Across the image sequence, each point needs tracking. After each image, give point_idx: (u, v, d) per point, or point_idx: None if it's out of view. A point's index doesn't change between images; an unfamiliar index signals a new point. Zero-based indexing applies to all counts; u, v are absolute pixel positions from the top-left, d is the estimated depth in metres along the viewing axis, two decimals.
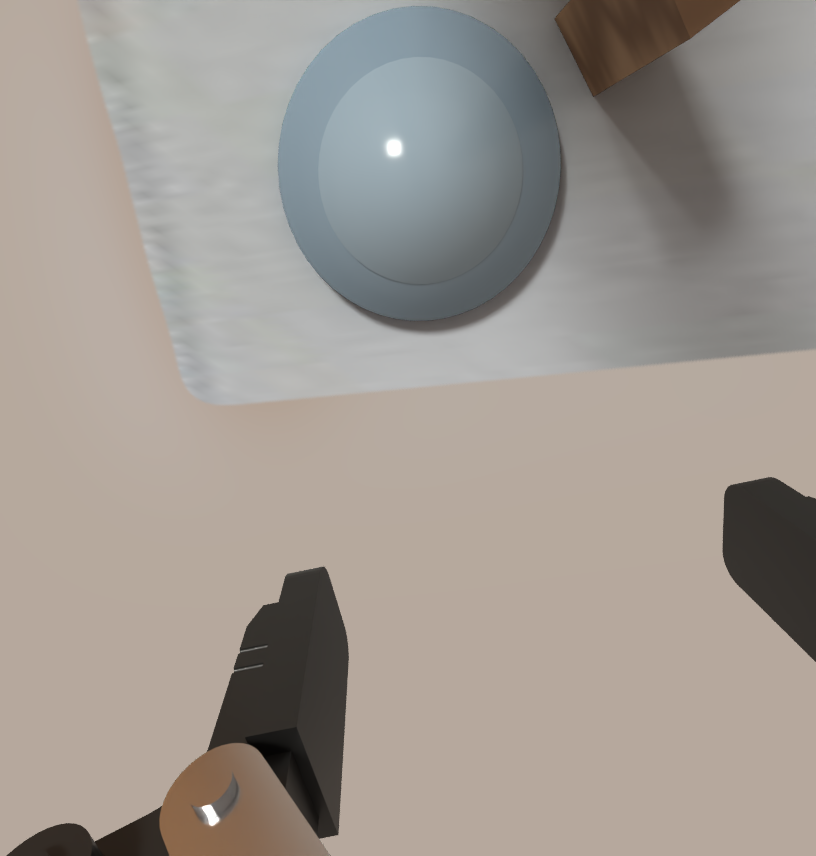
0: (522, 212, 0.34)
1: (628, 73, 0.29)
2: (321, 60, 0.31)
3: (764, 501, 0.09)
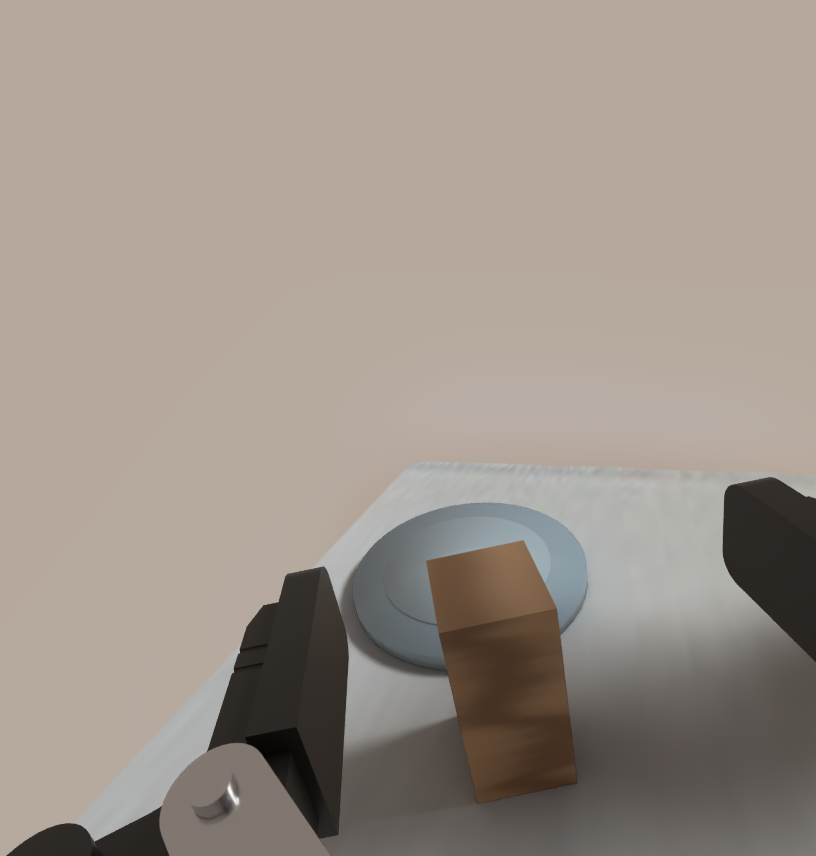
0: (398, 617, 0.37)
1: None
2: (567, 534, 0.42)
3: (764, 501, 0.09)
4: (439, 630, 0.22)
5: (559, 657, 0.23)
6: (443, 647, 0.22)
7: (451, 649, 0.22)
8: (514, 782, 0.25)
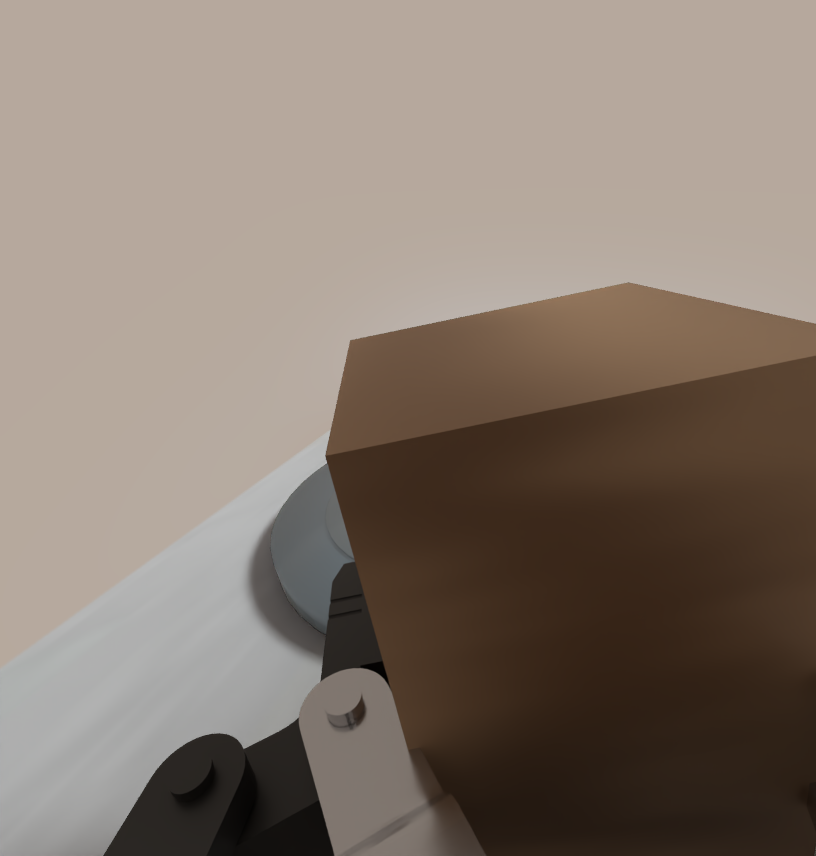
0: (342, 565, 0.20)
1: None
2: None
3: None
4: (333, 448, 0.05)
5: None
6: (354, 531, 0.05)
7: (393, 543, 0.05)
8: None
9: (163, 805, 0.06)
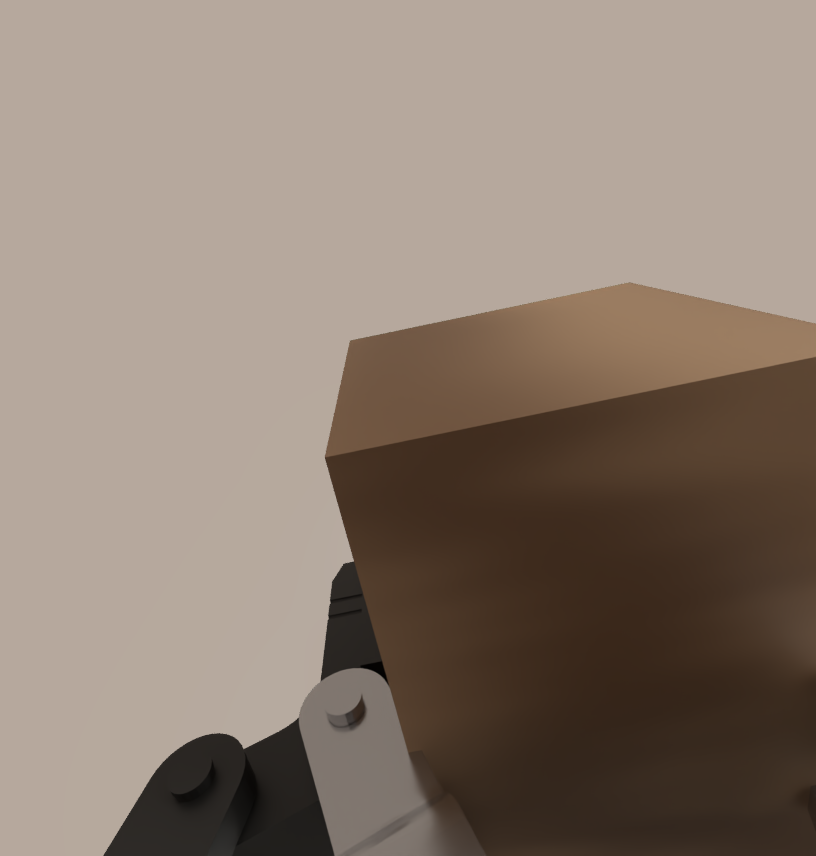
0: None
1: None
2: None
3: None
4: (333, 449, 0.05)
5: None
6: (354, 532, 0.05)
7: (393, 545, 0.05)
8: None
9: (163, 805, 0.06)
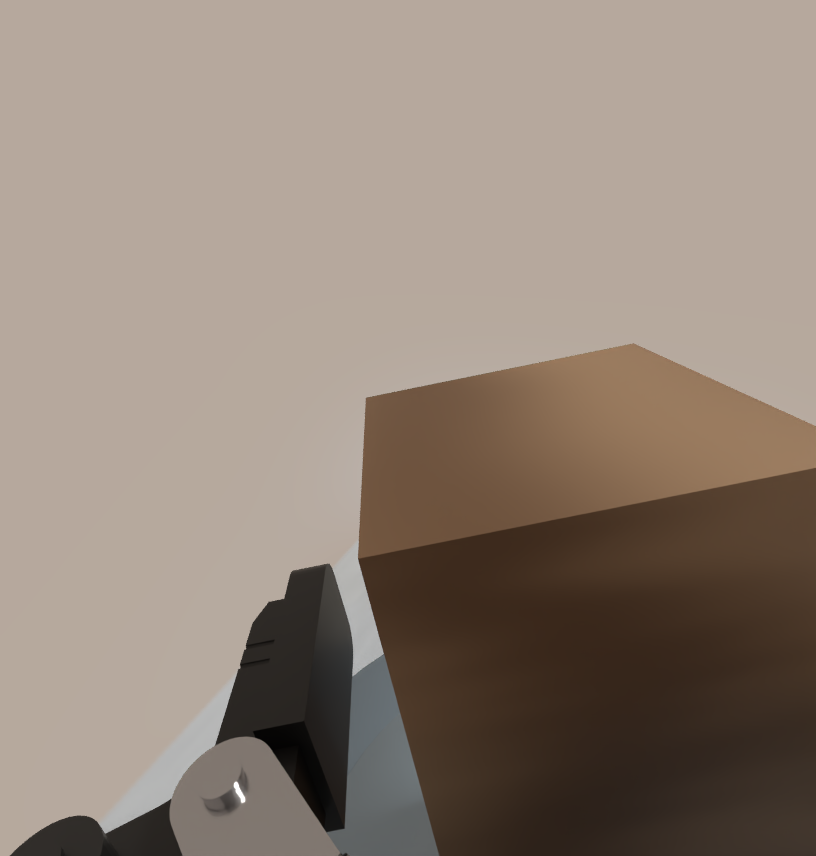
0: None
1: None
2: None
3: None
4: (364, 549, 0.05)
5: None
6: (382, 622, 0.05)
7: (419, 633, 0.05)
8: None
9: None
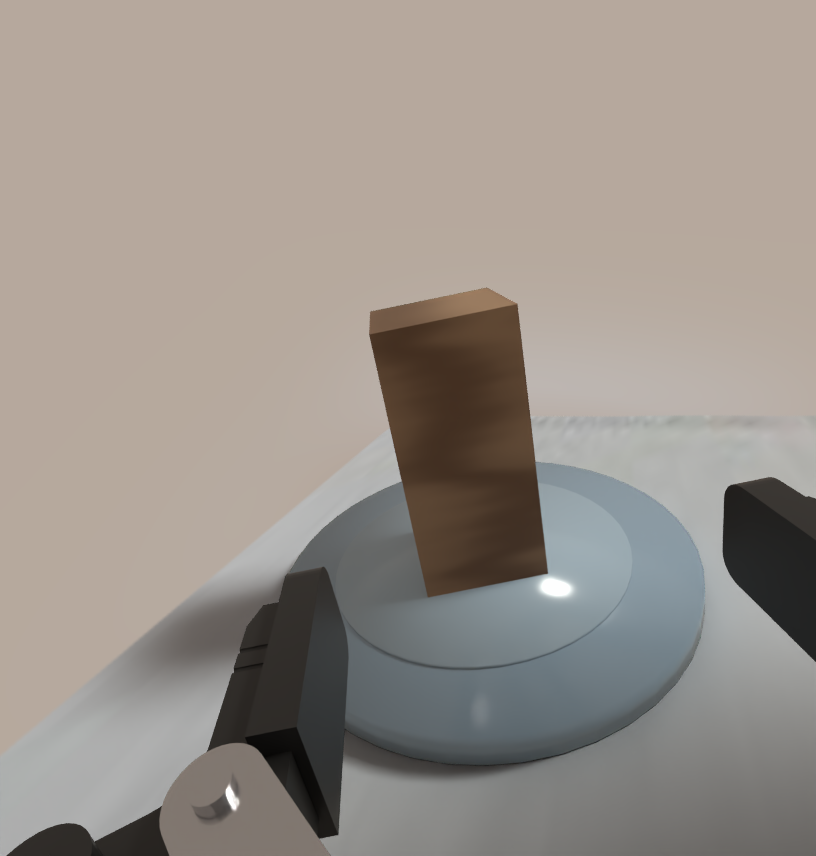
0: (353, 646, 0.20)
1: None
2: (650, 503, 0.25)
3: (764, 501, 0.09)
4: (371, 333, 0.17)
5: (522, 381, 0.18)
6: (376, 357, 0.18)
7: (387, 361, 0.18)
8: (471, 568, 0.21)
9: None
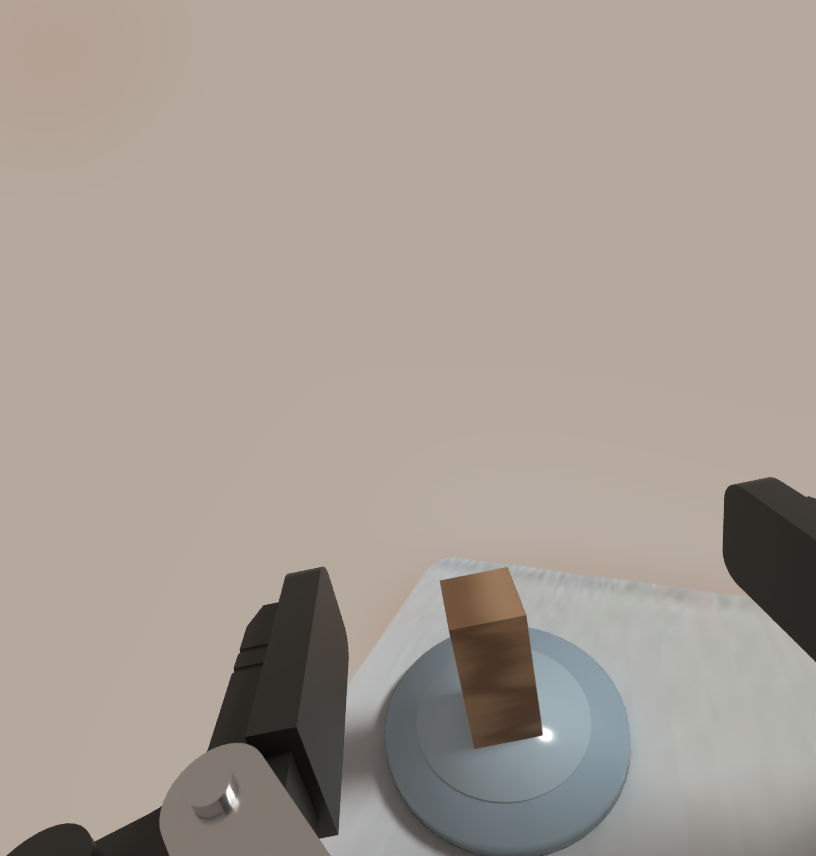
0: (435, 783, 0.36)
1: None
2: (606, 679, 0.41)
3: (764, 501, 0.09)
4: (449, 628, 0.33)
5: (528, 647, 0.34)
6: (452, 639, 0.34)
7: (457, 641, 0.34)
8: (499, 734, 0.37)
9: None
